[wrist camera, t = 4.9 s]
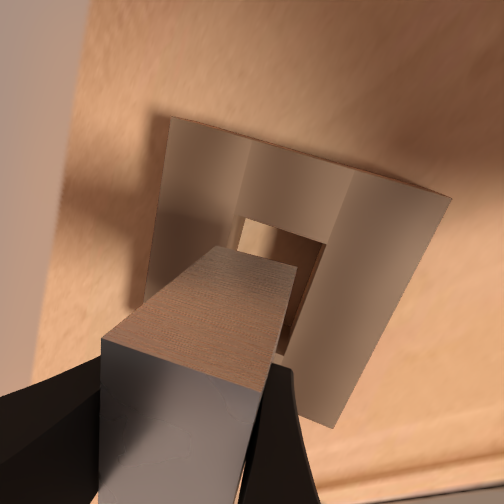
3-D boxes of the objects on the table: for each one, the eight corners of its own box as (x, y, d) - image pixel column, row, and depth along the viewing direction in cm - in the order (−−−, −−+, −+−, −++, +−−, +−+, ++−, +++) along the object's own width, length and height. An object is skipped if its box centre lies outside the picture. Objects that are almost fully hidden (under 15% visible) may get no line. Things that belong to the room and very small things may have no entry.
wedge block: (297, 267, 11) (261, 392, 5) (268, 379, 12) (216, 565, 7) (216, 245, 11) (101, 338, 6) (199, 356, 13) (98, 512, 7)
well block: (430, 189, 14) (452, 198, 12) (332, 391, 19) (332, 429, 17) (196, 121, 16) (171, 116, 13) (160, 323, 21) (136, 347, 18)
